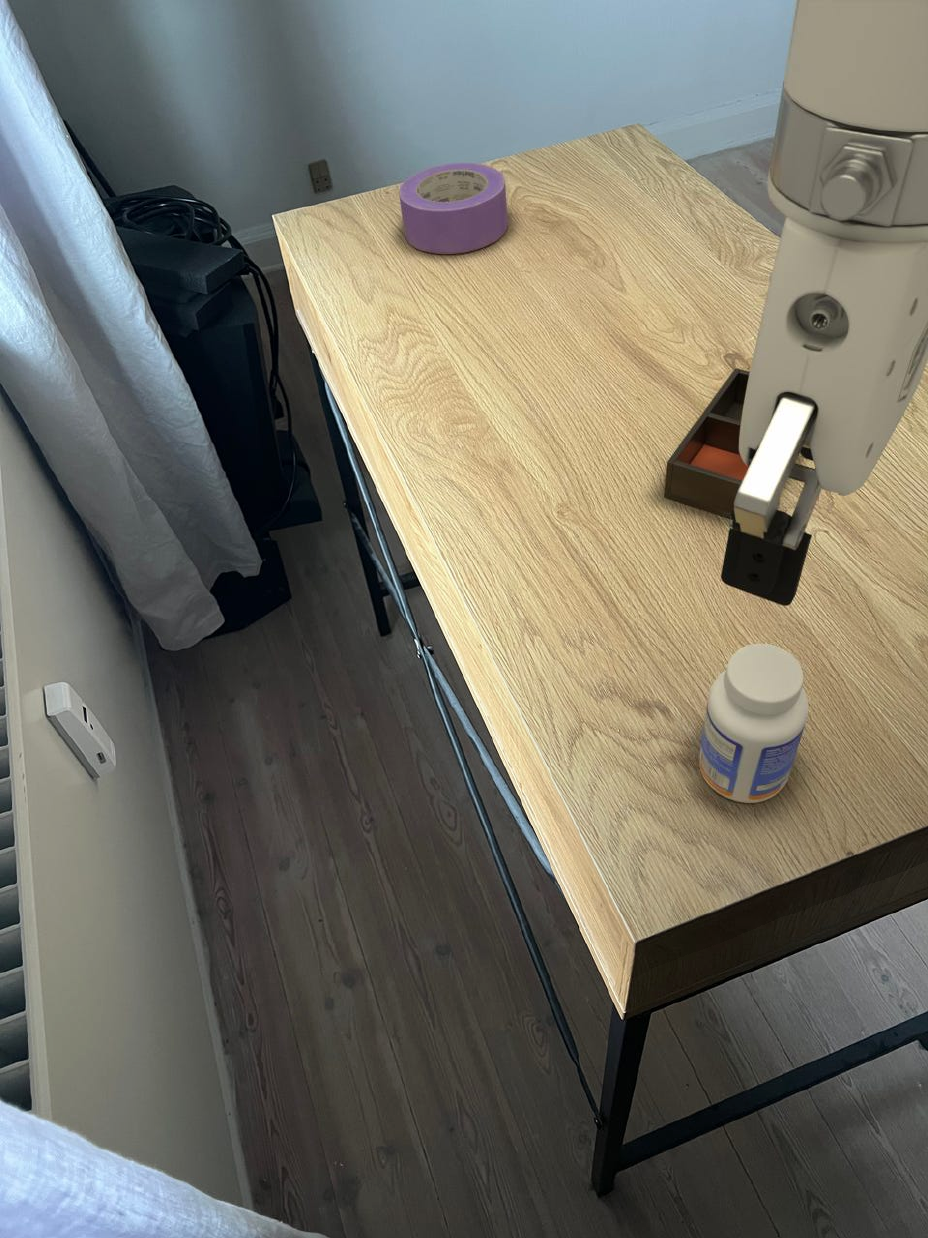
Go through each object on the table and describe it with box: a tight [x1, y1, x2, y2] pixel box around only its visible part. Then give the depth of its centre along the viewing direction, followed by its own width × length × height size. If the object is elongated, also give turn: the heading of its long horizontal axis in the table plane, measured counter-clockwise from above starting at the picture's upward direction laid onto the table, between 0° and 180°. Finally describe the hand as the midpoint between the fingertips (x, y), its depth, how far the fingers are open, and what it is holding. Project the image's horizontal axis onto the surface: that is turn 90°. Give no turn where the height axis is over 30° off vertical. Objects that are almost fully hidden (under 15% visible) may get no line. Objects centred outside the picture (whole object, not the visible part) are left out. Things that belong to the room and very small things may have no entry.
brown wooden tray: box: [663, 367, 750, 520], centre depth 74 cm, size 7×14×4 cm, turn 147°
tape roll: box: [398, 162, 509, 255], centre depth 103 cm, size 12×12×5 cm
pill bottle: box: [698, 643, 809, 804], centre depth 53 cm, size 5×5×10 cm
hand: (796, 523), depth 43 cm, fingers open, 9 cm apart
